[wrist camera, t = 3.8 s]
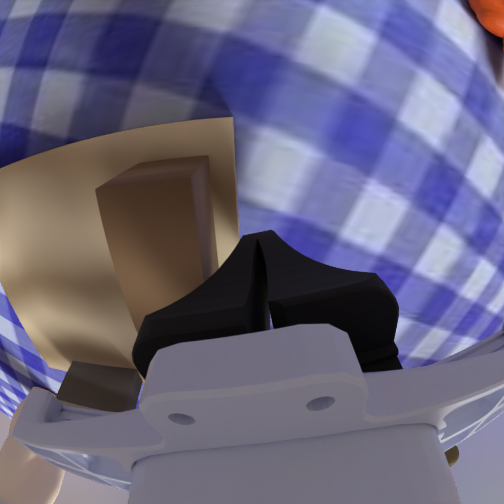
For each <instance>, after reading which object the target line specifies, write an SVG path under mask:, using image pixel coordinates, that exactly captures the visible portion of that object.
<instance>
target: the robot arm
mask: <svg viewBox="0 0 504 504" xmlns="http://www.w3.org/2000/svg"><path fill="white" fill-rule="evenodd" d="M270 314H271V318H272V323H273V327H274V329H273V330H270ZM398 317H399V306H398V303H397V301H396V298H395V297H394V295H393V294H392V292H391V291H390V289H389V288H388V287H387V285H386V284H385V283H384V282H383V281H382V280H381V279H380V277H379V276H378V275H377V274H376V273H369V272H358V271H350V270H345V269H340V268H336V267H332V266H329V265H326V264H323V263H320V262H317V261H315V260H313V259H310V258H308V257H306V256H304V255H302V254H301V253H299V252H297V251H296V250H295V249H293V248H292V247H291V246H289V245H288V244H287V243H286V242H284V241H283V240H282V239H281V238H280V237H279V236H278V235H277V234H276V233H275V232H274V231H273V230H268V231H263V232H258V233H253V234H248V235H243V236H242V238H241V239H240V241H239V242H238V244H237V245H236V247H235V248H234V250H233V251H232V253H231V254H230V255H229V257H228V258H227V259H226V260H225V262H224V263H223V264H222V265H221V266H220V268H219V269H218V270H217V271H216V272H215V273H214V274H213V275H212V276H210V277H209V278H208V279H207V280H206V281H205V282H204V283H202V284H201V285H200V286H198V287H197V288H196V289H194V290H193V291H192V292H190V293H189V294H187V295H186V296H184V297H182V298H181V299H179V300H177V301H176V302H174V303H172V304H170V305H168V306H166V307H164V308H162V309H160V310H157V311H155V312H153V313H151V314H148V315H146V316H145V317H144V320H143V322H142V324H141V327H140V330H139V332H138V335H137V338H136V340H135V343H134V346H133V350H132V360H133V363H134V365H135V367H136V368H137V370H138V372H139V373H140V374H141V375H142V377H143V378H144V379H145V383H144V387H143V391H142V395H141V398H140V402H139V406H138V407H139V408H138V409H134V410H129V411H124V412H119V413H118V412H108V411H99V410H91V409H83V408H77V407H71V406H65V405H62V403H61V402H60V401H59V400H58V399H57V398H56V397H55V396H54V395H52V394H51V393H49V392H46V391H41V390H36V389H31V391H30V393H29V395H28V397H27V399H26V401H25V403H24V405H23V408H22V410H21V412H20V415H19V417H18V419H17V422H16V424H15V426H14V429H13V431H12V434H11V435H12V437H13V438H15V439H16V440H17V441H18V442H20V443H21V444H22V445H24V446H25V447H26V448H28V449H29V450H31V451H32V452H33V453H35V454H36V455H38V456H39V457H41V458H42V459H44V460H45V461H47V462H48V463H50V464H51V465H53V466H55V467H58V468H60V469H63V470H65V471H68V472H71V473H73V474H76V475H78V476H81V477H84V478H87V479H90V480H92V481H95V482H98V483H101V484H104V485H107V486H111V487H114V488H117V489H121V490H124V491H128V492H130V493H129V499H128V504H461V502H460V499H459V496H458V492H457V489H456V486H455V482H454V479H453V476H452V473H451V470H450V467H449V464H448V462H447V459H446V456H445V453H444V452H445V451H447V450H448V449H450V448H452V447H453V446H455V445H457V444H458V443H460V442H461V441H463V440H465V439H466V438H468V437H469V436H471V435H472V434H474V433H475V432H477V431H478V430H480V429H481V428H483V427H484V426H485V425H487V424H488V423H490V422H491V421H492V420H494V419H495V418H496V417H497V416H499V415H500V414H501V413H503V412H504V324H503V327H502V330H500V331H498V332H496V333H495V334H493V335H491V336H489V337H488V338H486V339H484V340H482V341H480V342H478V343H476V344H474V345H472V346H470V347H468V348H466V349H464V350H462V351H460V352H458V353H456V354H454V355H451V356H449V357H447V358H445V359H443V360H440V361H438V362H436V363H433V364H431V365H428V366H422V367H415V368H408V369H403V368H402V366H401V364H400V362H399V359H398V357H397V355H398V353H399V352H398V348H397V346H396V344H395V342H394V338H395V333H396V328H397V323H398Z"/></svg>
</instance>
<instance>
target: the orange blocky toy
mask: <svg viewBox="0 0 504 504" xmlns="http://www.w3.org/2000/svg"><path fill="white" fill-rule="evenodd" d="M468 2H469V4H470V7H471V9H472V10H473V11H474V12H475V13H476V15H477V18H478V20H479V22H480V23H481V24H482V25H483V27H484V28H485V29H487V30H488V31H489V32H491V33H492V34H494V35H496V36H498V37H502V38H503V52H504V0H468Z"/></svg>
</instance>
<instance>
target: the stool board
mask: <svg viewBox="0 0 504 504" xmlns="http://www.w3.org/2000/svg"><path fill="white" fill-rule="evenodd" d="M204 155H209V169H210V181H211V193H212V204H213V215H214V226H215V236H216V246H217V255H218V264H219V268H220V266H221V265H222V264H223V263H224V262H225V260H226V259H227V258H228V257H229V255H230V254H231V253H232V251H233V250H234V248H235V247H236V245H237V244H238V242H239V241H240V231H239V214H238V196H237V177H236V158H235V138H234V117H222V118H209V119H199V120H189V121H181V122H173V123H166V124H159V125H153V126H147V127H141V128H135V129H130V130H125V131H120V132H115V133H111V134H106V135H102V136H98V137H94V138H90V139H86V140H82V141H78V142H75V143H71V144H67V145H64V146H61V147H57V148H54V149H51V150H48V151H45V152H42V153H39V154H36V155H33V156H30V157H28V158H25V159H22V160H20V161H17V162H14V163H12V164H9V165H7V166H5V167H2V168H0V282H1V284H2V286H3V289H4V291H5V293H6V295H7V297H8V299H9V301H10V303H11V305H12V307H13V309H14V311H15V313H16V314H17V316H18V318H19V320H20V322H21V323H22V325H23V327H24V329H25V330H26V332H27V334H28V335H29V337H30V339H31V340H32V342H33V344H34V345H35V347H36V348H37V350H38V351H39V353H40V354H41V356H42V357H43V359H44V360H45V362H46V363H47V365H48V366H49V367H50V368H55V369H59V370H64V371H67V373H66V376H65V378H64V380H63V382H62V384H61V386H60V389H59V391H58V393H57V396H56V398H57V399H58V400H59V401H60V402H61V403H62V405H65V406H71V407H77V408H83V409H91V410H99V411H108V412H118V413H119V412H124V411H129V410H134V409H135V408H136V404H137V400H138V396H139V393H140V389H141V385H142V383H145V379H144V378H143V377H142V375H141V374H140V373H139V372H138V370H137V368H136V367H135V365H134V363H133V360H132V350H133V346H134V343H135V340H136V338H137V335H138V334H137V331H136V329H135V326H134V323H133V321H132V318H131V315H130V313H129V310H128V307H127V305H126V302H125V299H124V296H123V293H122V290H121V287H120V284H119V281H118V278H117V275H116V272H115V268H114V265H113V262H112V258H111V255H110V251H109V248H108V244H107V240H106V236H105V232H104V229H103V224H102V220H101V216H100V212H99V207H98V202H97V198H96V193H95V189H96V188H98V187H99V186H101V185H102V184H104V183H106V182H107V181H109V180H111V179H112V178H114V177H116V176H117V175H119V174H121V173H122V172H124V171H126V170H128V169H129V168H131V167H133V166H135V165H136V164H138V163H142V162H149V161H157V160H165V159H173V158H183V157H193V156H204Z"/></svg>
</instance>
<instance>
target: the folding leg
mask: <svg viewBox="0 0 504 504" xmlns="http://www.w3.org/2000/svg"><path fill="white" fill-rule="evenodd" d="M95 193H96V198H97V202H98V207H99V212H100V216H101V220H102V224H103V229H104V232H105V236H106V240H107V244H108V248H109V251H110V255H111V258H112V262H113V265H114V268H115V272H116V275H117V278H118V281H119V284H120V287H121V290H122V293H123V296H124V299H125V302H126V305H127V307H128V310H129V313H130V315H131V318H132V321H133V323H134V326H135V329H136V331H137V334H138V332H139V330H140V327H141V324H142V322H143V320H144V317H145V316H146V315H148V314H151V313H153V312H155V311H157V310H160V309H162V308H164V307H166V306H168V305H170V304H172V303H174V302H176V301H177V300H179V299H181V298H182V297H184V296H186V295H187V294H189V293H190V292H192V291H193V290H194V289H196V288H197V287H198V286H200V285H201V284H202V283H204V282H205V281H206V280H207V279H208V278H209V277H210V276H212V275H213V274H214V273H215V272H216V271H217V270H218V269H219V264H218V255H217V246H216V236H215V226H214V215H213V204H212V193H211V181H210V169H209V155H204V156H193V157H183V158H173V159H165V160H157V161H149V162H142V163H138V164H136V165H135V166H133V167H131V168H129V169H128V170H126V171H124V172H122V173H121V174H119V175H117V176H116V177H114V178H112V179H111V180H109V181H107V182H106V183H104V184H102V185H101V186H99V187H98V188H96V189H95Z"/></svg>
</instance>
